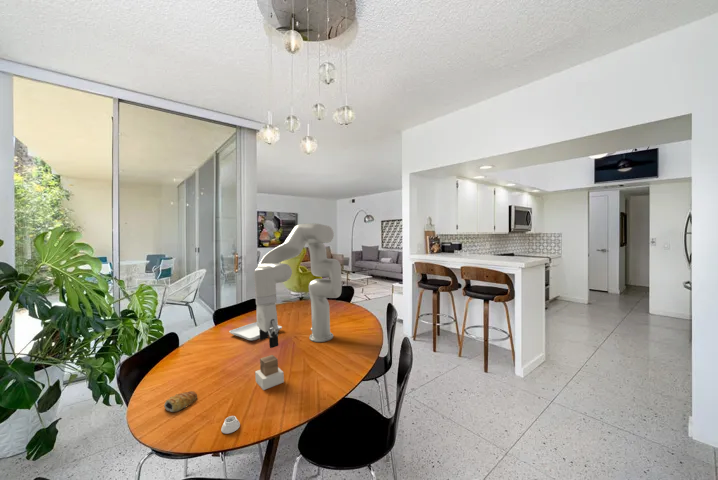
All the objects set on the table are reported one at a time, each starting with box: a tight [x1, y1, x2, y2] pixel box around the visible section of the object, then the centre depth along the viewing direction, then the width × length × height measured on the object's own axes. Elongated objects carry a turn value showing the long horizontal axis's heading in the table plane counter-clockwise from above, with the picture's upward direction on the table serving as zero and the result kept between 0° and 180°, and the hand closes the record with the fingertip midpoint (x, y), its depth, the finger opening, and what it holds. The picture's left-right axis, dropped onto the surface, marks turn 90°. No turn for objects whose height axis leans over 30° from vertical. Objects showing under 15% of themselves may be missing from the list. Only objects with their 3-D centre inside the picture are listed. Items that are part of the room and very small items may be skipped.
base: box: [254, 367, 285, 391], centre depth 110 cm, size 8×8×4 cm
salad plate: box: [228, 321, 283, 341], centre depth 161 cm, size 21×21×3 cm
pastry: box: [163, 390, 198, 413], centre depth 97 cm, size 9×7×4 cm
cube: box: [259, 354, 279, 376], centre depth 110 cm, size 5×5×5 cm
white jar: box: [220, 415, 241, 434], centre depth 85 cm, size 5×3×5 cm
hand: (269, 342), depth 110 cm, fingers open, 9 cm apart
